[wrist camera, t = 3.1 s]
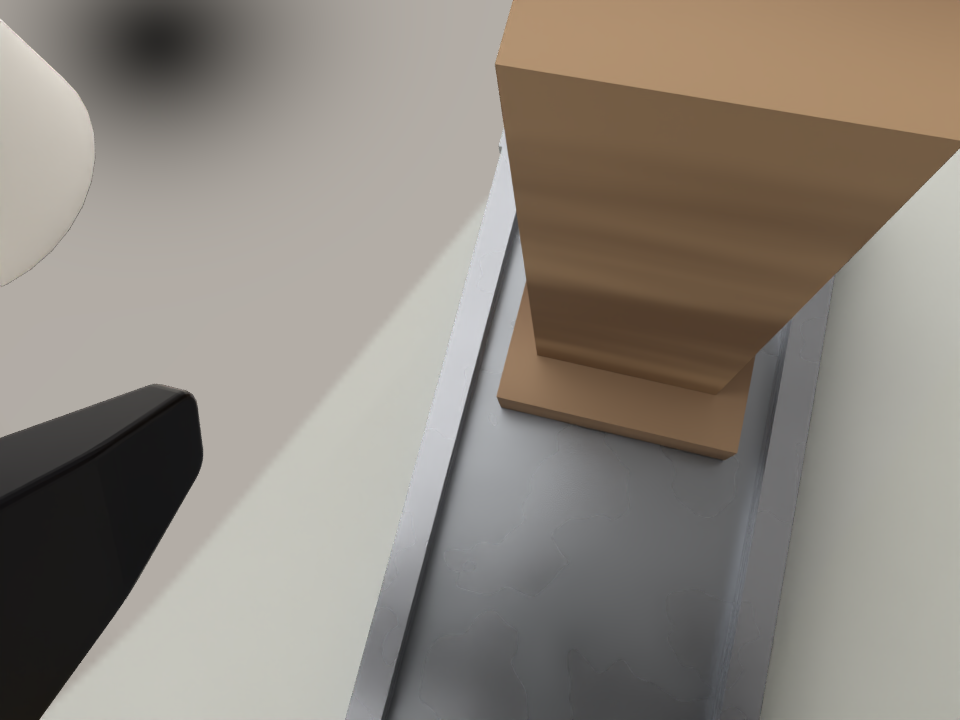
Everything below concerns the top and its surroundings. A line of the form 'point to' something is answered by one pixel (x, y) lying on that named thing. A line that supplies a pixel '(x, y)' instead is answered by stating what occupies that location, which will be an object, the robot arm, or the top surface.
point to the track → (583, 539)
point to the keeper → (702, 188)
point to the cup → (38, 156)
